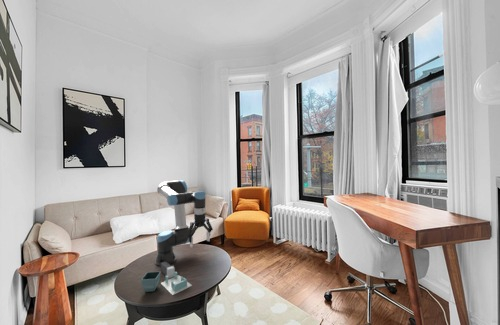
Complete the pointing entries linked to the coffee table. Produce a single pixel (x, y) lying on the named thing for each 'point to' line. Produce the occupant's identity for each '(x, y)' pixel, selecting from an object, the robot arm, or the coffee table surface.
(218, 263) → the coffee table surface
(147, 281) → the flower pot
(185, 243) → the robot arm
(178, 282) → the board
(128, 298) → the coffee table surface
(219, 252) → the coffee table surface
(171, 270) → the bar
